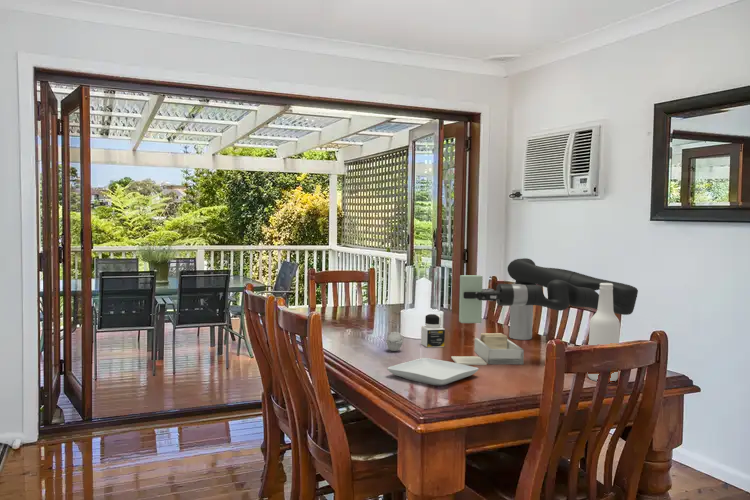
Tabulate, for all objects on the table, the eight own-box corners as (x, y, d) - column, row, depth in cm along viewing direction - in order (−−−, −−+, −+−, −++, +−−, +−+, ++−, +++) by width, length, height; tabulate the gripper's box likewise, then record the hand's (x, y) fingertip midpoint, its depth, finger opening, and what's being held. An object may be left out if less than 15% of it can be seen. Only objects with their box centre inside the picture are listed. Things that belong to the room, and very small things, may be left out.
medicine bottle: (427, 347, 230) (427, 316, 229) (420, 344, 237) (421, 313, 236) (444, 347, 232) (445, 316, 231) (437, 343, 239) (438, 313, 238)
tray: (474, 351, 225) (474, 338, 225) (506, 351, 226) (506, 338, 226) (488, 364, 205) (489, 349, 205) (523, 364, 206) (523, 349, 206)
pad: (451, 358, 213) (451, 356, 213) (479, 358, 214) (479, 356, 214) (457, 364, 204) (457, 363, 203) (486, 364, 204) (486, 363, 204)
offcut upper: (480, 340, 224) (480, 333, 224) (500, 339, 225) (501, 333, 225) (486, 343, 218) (486, 336, 218) (507, 343, 219) (507, 336, 219)
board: (459, 321, 210) (460, 275, 209) (478, 321, 210) (480, 275, 209) (461, 323, 206) (462, 276, 205) (481, 323, 207) (482, 276, 206)
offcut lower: (480, 346, 224) (480, 339, 224) (501, 346, 225) (501, 340, 225) (484, 350, 218) (485, 343, 218) (506, 350, 219) (506, 343, 219)
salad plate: (424, 366, 203) (424, 355, 202) (480, 377, 189) (480, 366, 189) (384, 378, 186) (384, 367, 186) (442, 391, 173) (443, 379, 173)
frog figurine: (404, 349, 225) (404, 331, 225) (400, 353, 219) (400, 334, 218) (388, 348, 227) (389, 330, 227) (383, 352, 220) (384, 333, 220)
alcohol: (610, 375, 194) (614, 282, 192) (622, 383, 185) (626, 285, 183) (583, 375, 193) (587, 281, 192) (594, 382, 184) (598, 284, 183)
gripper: (517, 308, 202) (466, 308, 201) (505, 302, 216) (457, 302, 215) (518, 286, 202) (467, 285, 200) (505, 281, 216) (458, 281, 214)
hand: (462, 294), depth 207 cm, fingers closed on board, 3 cm apart
